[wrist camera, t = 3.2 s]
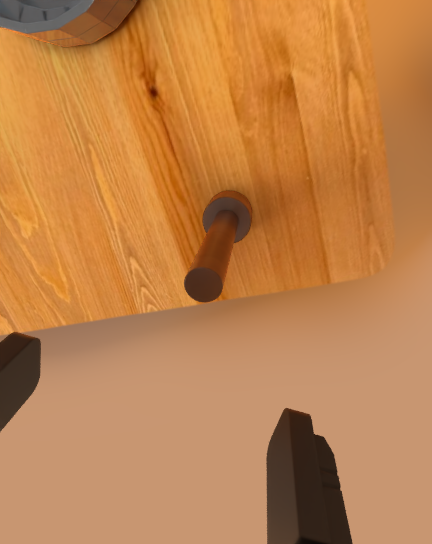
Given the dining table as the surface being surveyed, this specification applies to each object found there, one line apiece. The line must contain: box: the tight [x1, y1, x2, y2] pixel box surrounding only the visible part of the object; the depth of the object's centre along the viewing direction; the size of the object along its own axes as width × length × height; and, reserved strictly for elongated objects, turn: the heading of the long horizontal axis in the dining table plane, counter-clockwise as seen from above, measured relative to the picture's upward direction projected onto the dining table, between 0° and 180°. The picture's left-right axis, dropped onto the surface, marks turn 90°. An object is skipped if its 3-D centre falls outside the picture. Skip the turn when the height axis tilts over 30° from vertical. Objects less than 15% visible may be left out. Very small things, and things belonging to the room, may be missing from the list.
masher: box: [184, 191, 252, 302], centre depth 26 cm, size 4×4×16 cm
